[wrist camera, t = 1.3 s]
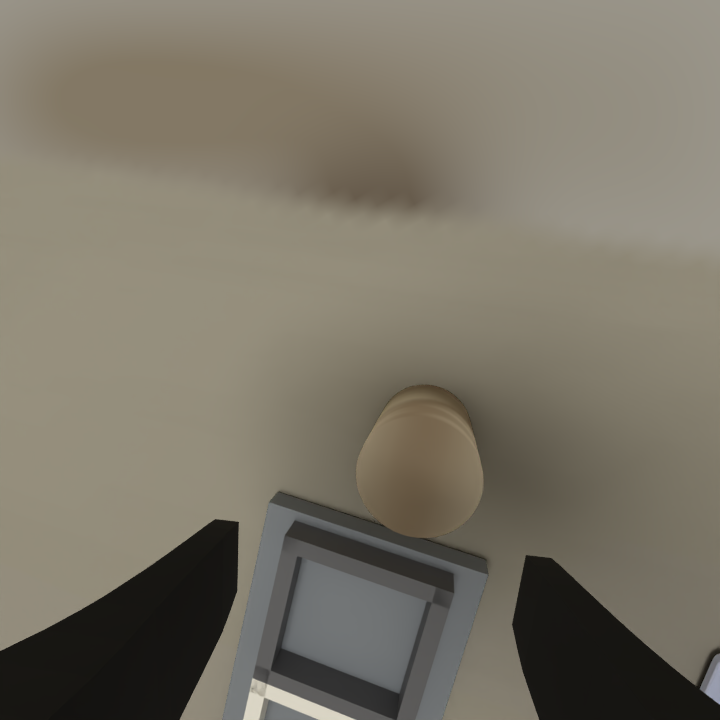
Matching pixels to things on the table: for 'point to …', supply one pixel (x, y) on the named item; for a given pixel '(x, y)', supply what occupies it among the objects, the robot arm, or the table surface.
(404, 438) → the beech pin
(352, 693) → the gray compartment tray
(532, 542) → the table surface
